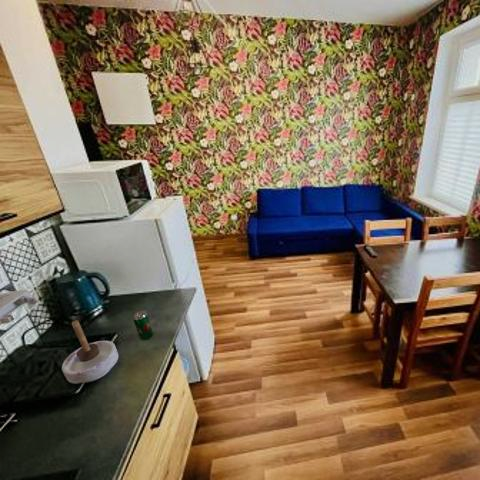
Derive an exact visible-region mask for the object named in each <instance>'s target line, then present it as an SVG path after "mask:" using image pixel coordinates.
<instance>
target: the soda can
mask: <svg viewBox="0 0 480 480" xmlns="http://www.w3.org/2000/svg"><path fill="white" fill-rule="evenodd" d="M132 317H133V318H132V320H133V322H134V325H135V329H136V331H137V332H136V333H137V335H138V338H139V339H140V340H142V341H146V340H149V339H150V338H152V337H153V335H154V331H153V328H152V324H151V322H150V318H149V315H148V312H146V311H145V310H140V311H137V312H135V313H134V314H133V316H132Z"/></svg>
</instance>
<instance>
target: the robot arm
mask: <svg viewBox="0 0 480 480" xmlns="http://www.w3.org/2000/svg"><path fill="white" fill-rule="evenodd" d="M38 302H39V299H38V298H37V297H33V296H32V294H31V293H30V291H29V290H28V289H20V290H19V289H18V290H12V291H6V292H3V293H1V294H0V325H4V324H10V323H11V322H13V321H14V320H15V317H14V316H13V315H12V313H14V312H15V311H17V310H18V309H19V308H21V307H22V306H24V305H25V304H28V305H35V304H36V303H38Z"/></svg>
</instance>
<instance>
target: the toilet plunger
mask: <svg viewBox="0 0 480 480" xmlns="http://www.w3.org/2000/svg"><path fill="white" fill-rule="evenodd" d="M71 325H72V328H73V330H74V332H75V335H76V337H77V339H78V341H79V343H80V346H81V347H82V348H81V347H80V348H81V349H79V348H78V349H79V350H78V349H77V350H78V351H77V353H76V355H77V357H78V360H79V361H80V362H86V361H89V360H92V359H93V358H95V357H96V356H97V355H98V354H99V353H100V350H99V348H98V345H97V344H90V343H89V342H88V340H87V338H86V335H85V333H84V330H83V328H82V325H81V323H80V321H79V320H78V319H77V320H73V321H72V322H71Z"/></svg>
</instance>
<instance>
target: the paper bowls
mask: <svg viewBox="0 0 480 480" xmlns="http://www.w3.org/2000/svg"><path fill="white" fill-rule="evenodd" d="M89 344H97V345H98V348H99V350H100V353H99V354H98V355H97V356H96V357H95V358H93V359H92V360H89V361H86V362H80V361H79V360H78V357H77V355H76V353H77V351H78V350H79V349H81V348H82V346H81V347H79V348H78V349H76V350H74V351H73V352H71V353H70V354H69V355H68V356H67V357H66V358H65V359H64V361H63V363H62V365H61V371H62V373H63V375H64V377H65V378H66V380H67V381H68V383H71V384H77V385H78V384H82V383H84V384H85V383H91V382H94V381H96V380H99V379H101V378H102V377H104V376H105V375H107V374H108V373H109V372H110V371H111V369H112V368H113V367H114V366H115V365H116V364H117V362H118V361H119V353H118V349H117V347H116V345H115V343H114V342H113V341H110V340H98V341H94V342H89Z"/></svg>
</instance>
